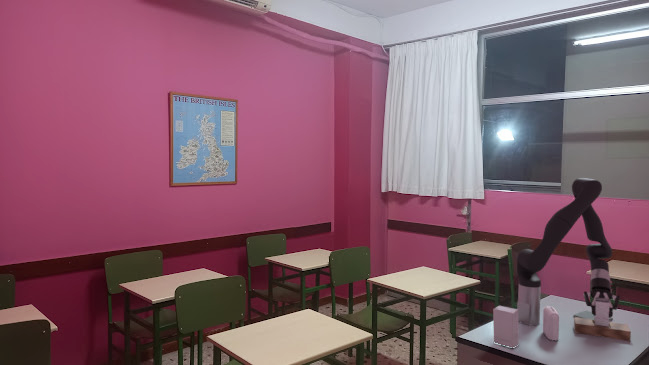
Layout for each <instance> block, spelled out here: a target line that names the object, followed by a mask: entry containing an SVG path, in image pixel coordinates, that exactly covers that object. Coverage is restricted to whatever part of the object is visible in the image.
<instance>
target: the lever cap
mask: <svg viewBox="0 0 649 365" xmlns="http://www.w3.org/2000/svg"><path fill="white" fill-rule="evenodd" d="M609 305H610V303H609V299H607V298H599V297H596V298H595V309H596V316H594V325H595V326H600V327H607V328H609V322H610V321H609Z"/></svg>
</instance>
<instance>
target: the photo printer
mask: <svg viewBox="0 0 649 365" xmlns="http://www.w3.org/2000/svg"><path fill="white" fill-rule="evenodd" d="M542 311H543V312H542V313H543V314H542V315H543V316H542V318H543V319H542V333H543V334H544V335H545V337H547V339H548V340H550V341H553V340H555V341H558V340H559V335H560V333H559V331H560V315H559V313H558V311H557V310H556V309H555V307H553V306H552V305H551V306H550V305H549V306H548V305H546V306H544V308H543V310H542Z"/></svg>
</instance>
